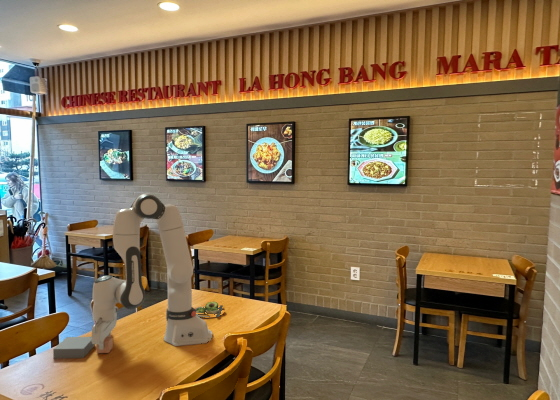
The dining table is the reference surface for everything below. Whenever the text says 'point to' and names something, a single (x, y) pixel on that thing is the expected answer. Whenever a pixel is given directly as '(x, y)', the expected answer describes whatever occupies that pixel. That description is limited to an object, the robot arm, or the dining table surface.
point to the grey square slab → (73, 347)
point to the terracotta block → (106, 345)
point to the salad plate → (210, 309)
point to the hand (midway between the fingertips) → (104, 345)
